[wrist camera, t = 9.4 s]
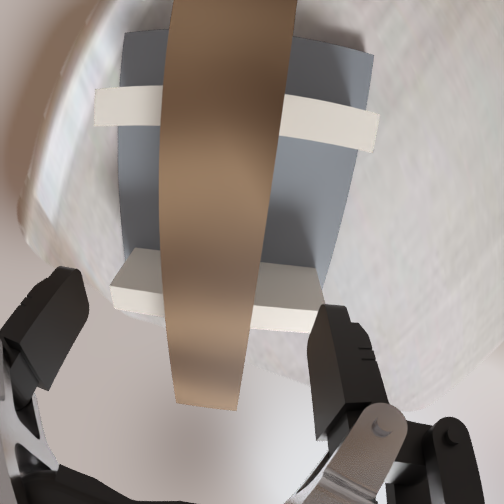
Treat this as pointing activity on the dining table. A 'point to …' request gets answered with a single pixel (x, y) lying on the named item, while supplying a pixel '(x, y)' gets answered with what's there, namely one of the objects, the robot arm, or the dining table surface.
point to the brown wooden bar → (217, 182)
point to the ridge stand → (283, 184)
